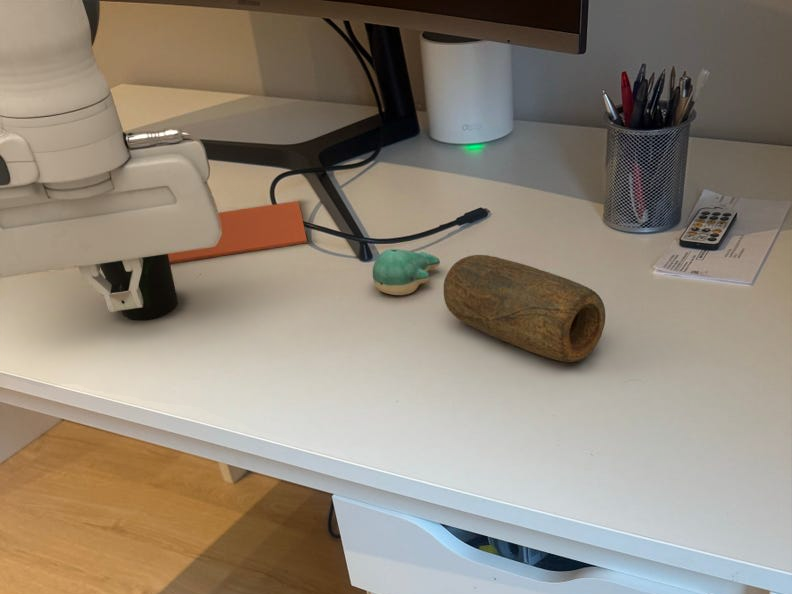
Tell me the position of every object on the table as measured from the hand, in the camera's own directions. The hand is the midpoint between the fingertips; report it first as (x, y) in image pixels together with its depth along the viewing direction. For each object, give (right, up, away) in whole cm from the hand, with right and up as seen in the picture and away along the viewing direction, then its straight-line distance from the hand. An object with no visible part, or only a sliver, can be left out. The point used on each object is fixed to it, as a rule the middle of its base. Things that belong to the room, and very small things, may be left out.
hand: (127, 307), depth 82 cm
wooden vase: (+36, -4, -2) cm, 36 cm away
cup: (-1, +3, +8) cm, 8 cm away
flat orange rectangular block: (+2, +15, +19) cm, 25 cm away
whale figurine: (+25, +5, +8) cm, 27 cm away
